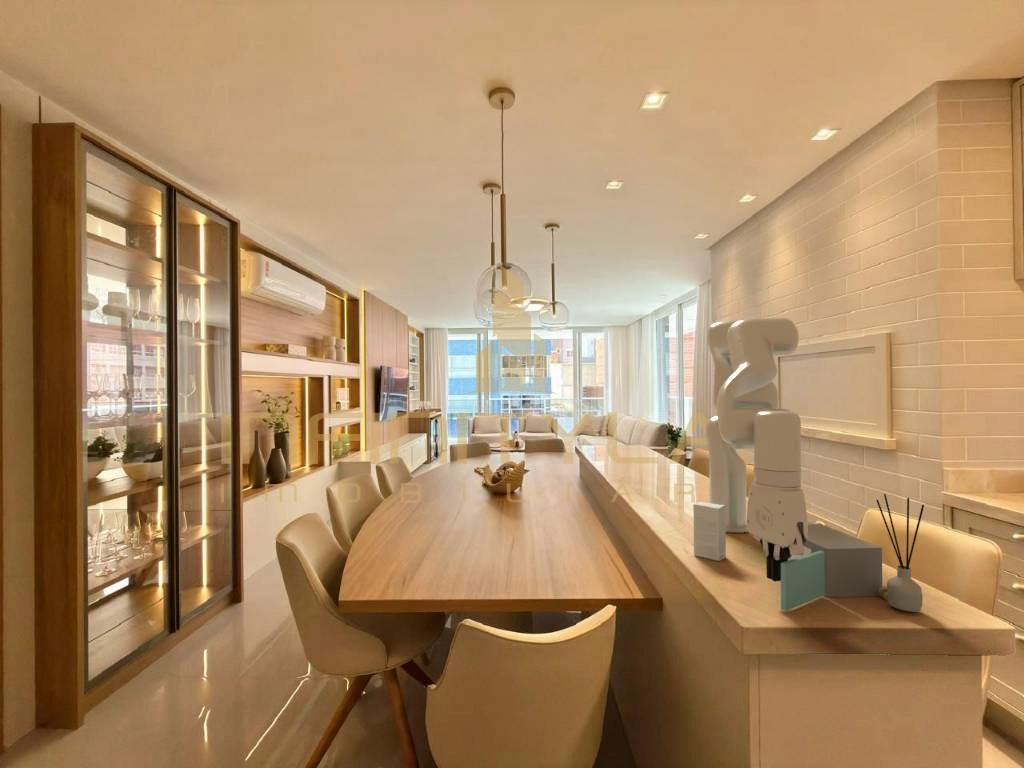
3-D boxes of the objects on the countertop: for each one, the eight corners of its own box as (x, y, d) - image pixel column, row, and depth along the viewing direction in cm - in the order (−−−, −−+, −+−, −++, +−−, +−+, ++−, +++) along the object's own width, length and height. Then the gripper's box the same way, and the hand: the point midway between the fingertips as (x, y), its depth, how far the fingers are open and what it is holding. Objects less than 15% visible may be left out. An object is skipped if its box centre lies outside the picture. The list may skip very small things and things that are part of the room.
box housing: (772, 566, 105) (772, 525, 105) (820, 565, 106) (820, 524, 106) (826, 597, 89) (825, 548, 89) (882, 595, 90) (882, 547, 90)
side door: (819, 593, 90) (819, 550, 90) (824, 594, 89) (824, 551, 89) (780, 609, 83) (780, 563, 83) (785, 611, 82) (785, 564, 83)
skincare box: (726, 557, 111) (726, 505, 111) (719, 562, 108) (719, 508, 108) (700, 551, 115) (700, 501, 115) (692, 555, 112) (692, 504, 112)
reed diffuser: (941, 622, 80) (940, 501, 80) (899, 622, 80) (899, 501, 80) (892, 596, 90) (891, 489, 90) (855, 596, 90) (855, 489, 90)
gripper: (731, 472, 94) (731, 566, 94) (793, 487, 79) (793, 598, 79) (763, 470, 96) (763, 562, 96) (829, 485, 81) (830, 594, 81)
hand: (777, 578), depth 87 cm, fingers closed
